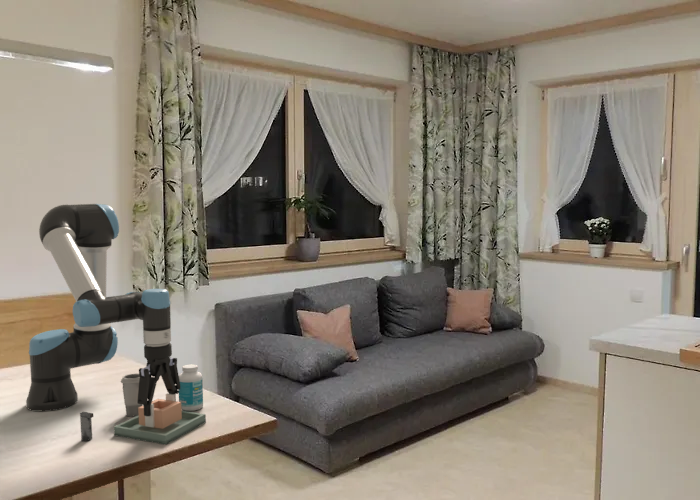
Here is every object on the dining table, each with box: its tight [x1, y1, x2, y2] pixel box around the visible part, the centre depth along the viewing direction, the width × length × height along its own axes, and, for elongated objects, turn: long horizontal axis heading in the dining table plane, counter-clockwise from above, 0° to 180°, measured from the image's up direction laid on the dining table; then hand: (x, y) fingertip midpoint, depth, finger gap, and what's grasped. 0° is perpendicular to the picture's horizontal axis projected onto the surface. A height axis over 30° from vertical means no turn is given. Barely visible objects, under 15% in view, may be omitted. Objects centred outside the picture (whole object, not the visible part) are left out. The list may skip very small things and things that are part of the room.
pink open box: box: [138, 398, 183, 429], centre depth 184 cm, size 8×10×5 cm
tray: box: [113, 410, 207, 445], centre depth 184 cm, size 18×18×2 cm
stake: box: [79, 411, 94, 442], centre depth 176 cm, size 4×3×8 cm
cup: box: [120, 372, 143, 418], centre depth 196 cm, size 7×7×12 cm
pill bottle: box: [178, 363, 204, 412], centre depth 201 cm, size 8×7×14 cm
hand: (160, 420), depth 184 cm, fingers closed on pink open box, 8 cm apart
